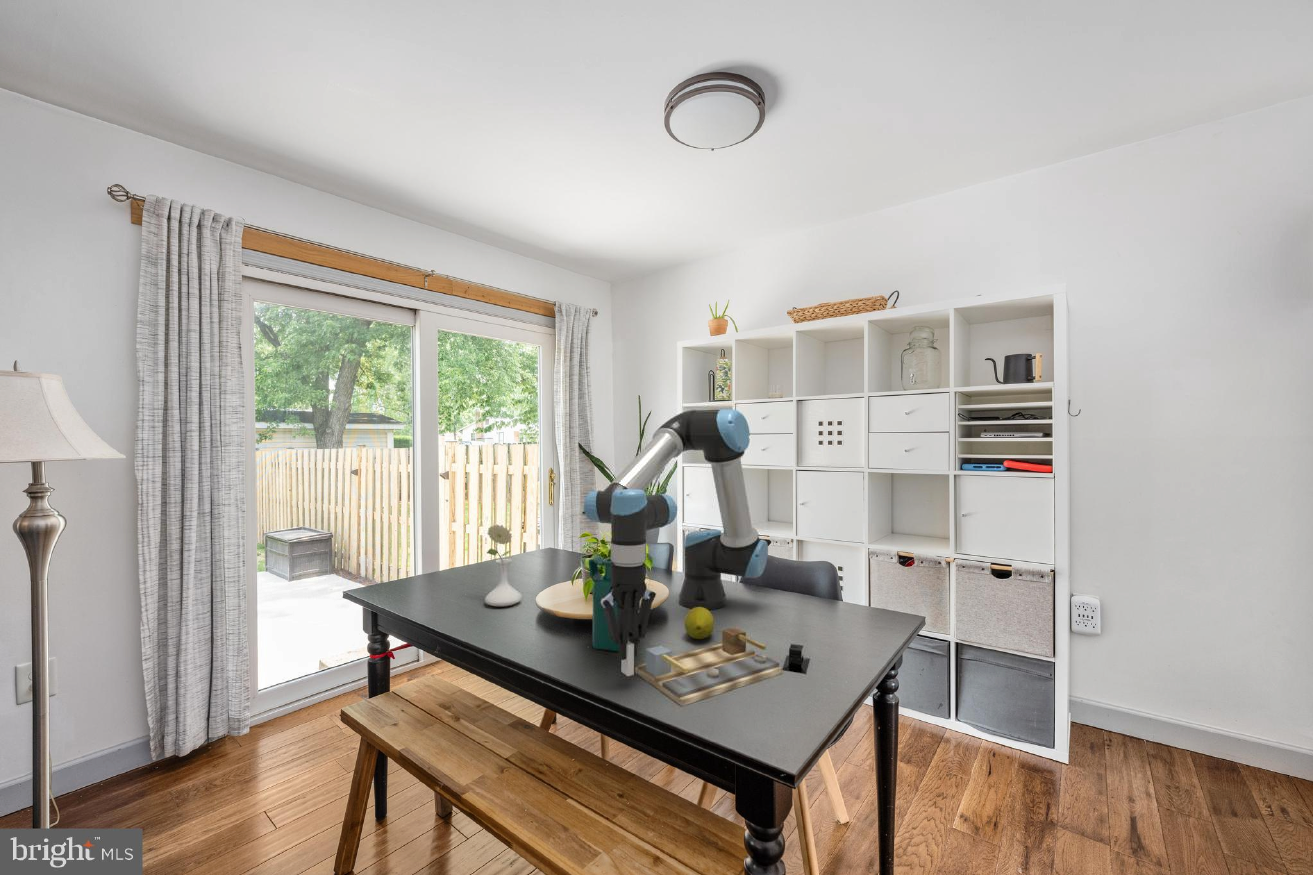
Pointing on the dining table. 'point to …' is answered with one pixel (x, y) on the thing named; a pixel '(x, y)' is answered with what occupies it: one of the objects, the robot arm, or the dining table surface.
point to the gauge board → (712, 690)
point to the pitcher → (600, 591)
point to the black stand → (796, 660)
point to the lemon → (699, 623)
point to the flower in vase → (502, 571)
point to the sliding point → (661, 661)
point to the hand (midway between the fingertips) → (627, 672)
